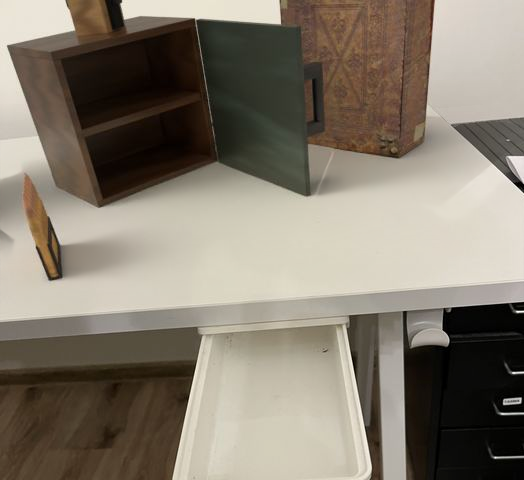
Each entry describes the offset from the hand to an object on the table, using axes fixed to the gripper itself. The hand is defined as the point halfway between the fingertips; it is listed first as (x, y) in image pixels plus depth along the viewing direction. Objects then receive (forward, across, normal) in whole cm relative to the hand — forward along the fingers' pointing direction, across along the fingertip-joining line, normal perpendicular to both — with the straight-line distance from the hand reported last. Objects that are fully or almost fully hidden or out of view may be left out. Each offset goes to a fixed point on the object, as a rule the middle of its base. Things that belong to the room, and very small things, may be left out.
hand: (101, 29), depth 92 cm
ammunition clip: (+25, -5, +34) cm, 43 cm away
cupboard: (+25, 0, 0) cm, 25 cm away
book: (+25, -39, -18) cm, 50 cm away
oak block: (0, 0, 0) cm, 0 cm away
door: (+25, -27, -1) cm, 37 cm away
